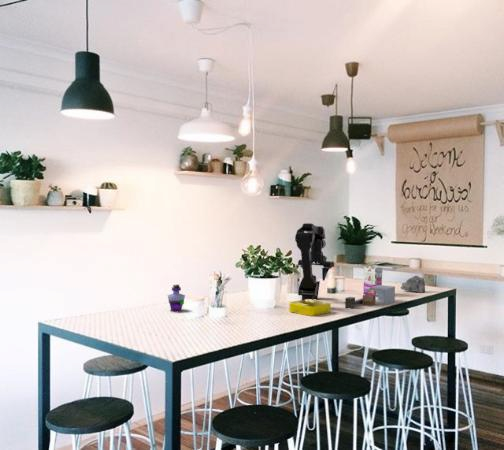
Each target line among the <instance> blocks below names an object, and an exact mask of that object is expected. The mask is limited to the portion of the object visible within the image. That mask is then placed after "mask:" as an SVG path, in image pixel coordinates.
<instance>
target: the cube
mask: <svg viewBox="0 0 504 450" xmlns="http://www.w3.org/2000/svg"><path fill="white" fill-rule="evenodd" d="M376 297H377V296H376V295H369V294H363V295H362V298H363V304H362V306H368V307H369V306H370V307H372V306H375V305H376V303H377V302H376V300H377V299H376Z"/></svg>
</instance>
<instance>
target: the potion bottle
mask: <svg viewBox="0 0 504 450" xmlns="http://www.w3.org/2000/svg"><path fill="white" fill-rule="evenodd" d="M172 286H173V287H171V291H172V292H173V293H170V294H168V295H167V299H168V303H169V307H170V311H171V312H181V311H182V309H183V305H184V304H185V298H186V297H185V294H183V293H180V291H181V290H182V289H181V288H182V287H180V286H181V285H180V284H173V285H172Z"/></svg>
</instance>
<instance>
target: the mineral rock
mask: <svg viewBox="0 0 504 450" xmlns="http://www.w3.org/2000/svg"><path fill="white" fill-rule="evenodd" d="M400 289H401V290H403V291H407V292H410V291H411V292H410V293H414V292H417V293H420V292H421V293H423V294H424V293H425V292H426V281H425V278H424V277H420V276H419V275H414V276H412V277H411V278H408V279H407V280H406V281H405V282H402V283H401V286H400Z"/></svg>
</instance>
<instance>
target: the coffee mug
mask: <svg viewBox="0 0 504 450" xmlns="http://www.w3.org/2000/svg"><path fill="white" fill-rule="evenodd" d="M316 281H317V283H318V290H317V296H315V297H314V299H317V300H318V298H319V292H320V284H321V283H320V280H319V279H316Z"/></svg>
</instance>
